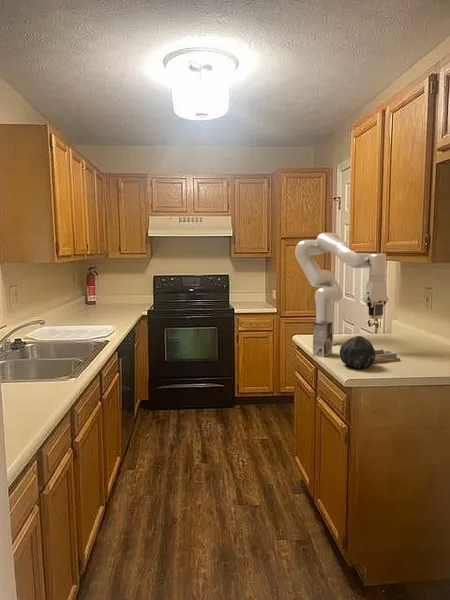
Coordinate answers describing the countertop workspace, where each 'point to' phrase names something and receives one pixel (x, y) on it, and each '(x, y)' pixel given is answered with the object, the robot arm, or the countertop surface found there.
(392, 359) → the rail board
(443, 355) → the countertop surface
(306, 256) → the robot arm
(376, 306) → the wooden block
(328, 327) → the coffee box
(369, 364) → the squash
